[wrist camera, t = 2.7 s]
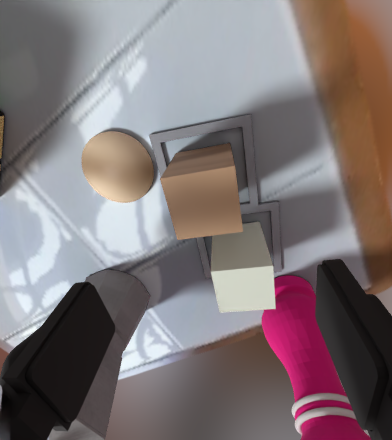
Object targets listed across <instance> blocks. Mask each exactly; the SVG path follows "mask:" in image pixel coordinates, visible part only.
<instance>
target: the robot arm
mask: <svg viewBox="0 0 392 440" xmlns="http://www.w3.org/2000/svg"><path fill="white" fill-rule="evenodd" d="M315 317H316V321H317V324H318V327H319V329H320V332H321V334H322V336H323V339H324V341H325V344H326V346H327V349H328V351H329V353H330V356H331V358H332V361H333V363H334V366H335V368H336V371H337V373H338V375H339V378H340V380H341V383H342V385H343V387H344V390H345V393H346V395H347V397H348V400H349V402H350V405H351V407H352V410H353V412H354V414H355V417H356V419H357V422H358V424H359V426H360V427H361V429H363V430H368V433H369V435H370V437H371V440H392V316H391V314H390V313H389V312H388V310H387V309H386V308H385V307H384V305H383V304H382V303H381V301H380V300H379V299H378V298H377V297H376V296H375V295H373V294H367V295H366V293H365V292H364V290H363V289H362V288H361V286H360V285H359V283H358V282H357V281H356V279H355V278H354V276H353V275H352V274H351V272H350V271H349V269H348V268H347V267H346V265H345V264H344V262H343V261H342V260H341V259H335V260H324V261H323V262H322V265H318V268H317V287H316V308H315ZM114 333H115V324H114V322H113V320H112V318H111V316H110V314H109V312H108V311H107V309H106V307H105V305H104V303H103V301H102V299H101V297H100V295H99V293H98V292H97V290H96V288H95V286H94V285H92V284H91V283H90V282H81V283H75V284H74V285H73V286H72V287H71V288H70V290H69V291H68V292H67V294H66V295H65V296H64V298H63V299H62V300H61V301H60V303H59V304H58V305H57V307H56V308H55V309H54V311H53V312H52V313H51V314H50V316H49V317H48V318H47V320H46V321H45V322H44V324H43V325H42V326H41V327H40V329H39V330H38V331H37V333H36V334H35V335H34V337H33V338H32V339H31V340H30V342H29V343H28V344H27V346H26V347H25V348H24V350H23V351H22V352H21V353H20V355H19V356H18V357H17V359H16V360H15V361H14V363H13V364H12V365H11V367H10V368H9V369H8V370H7V372H6V373H5V374H4V376H3V377H2V379H3V380H4V381H5V384H4V385H3V387H2V386H1V385H0V440H49V435H50V433H51V431H52V429H54V430H55V431H68V430H69V428H70V426H71V423H72V421H74V420H75V419H76V418H77V416H78V414H79V412H80V410H81V407H82V405H83V403H84V401H85V398H86V396H87V394H88V392H89V389H90V387H91V385H92V383H93V380H94V378H95V376H96V374H97V371H98V369H99V367H100V365H101V362H102V360H103V358H104V356H105V353H106V351H107V349H108V347H109V344H110V342H111V340H112V338H113V335H114Z"/></svg>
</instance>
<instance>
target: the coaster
mask: <svg viewBox="0 0 392 440" xmlns="http://www.w3.org/2000/svg"><path fill="white" fill-rule="evenodd" d="M82 168H83V172H84V175H85V177H86V179H87V181H88V182H89V184H90V185H91V186H92V188H93V189H94V190H95V191H96V192H98V193H99V194H100V195H102V196H103V197H105V198H107V199H109V200H112V201H115V202H121V203H127V202H133V201H136V200H138V199H140V198H141V197H143V196H144V195H145V194H146V193H147V191H148V190H149V189H150V187H151V185H152V182H153V178H154V167H153V163H152V160H151V157H150V155H149V153H148V152H147V150H146V149H145V148H144V146H143V145H142V144H141V143H140V142H139V141H137V140H136V139H135V138H133V137H131V136H130V135H127V134H125V133H121V132H116V131H109V132H104V133H100V134H98V135H96V136H94V137H93V138H91V139H90V140H89V141H88V143H87V144H86V146H85V148H84V150H83V153H82Z"/></svg>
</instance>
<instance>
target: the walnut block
mask: <svg viewBox="0 0 392 440" xmlns="http://www.w3.org/2000/svg"><path fill="white" fill-rule="evenodd" d="M160 180H161V184H162V187H163V191H164V194H165V198H166V201H167V205H168V208H169V212H170V215H171V219H172V222H173V226H174V229H175V233H176V236H177V240H180V239H189V238H197V237H205V236H213V235H221V234H229V233H237V232H243V227H242V219H241V211H240V203H239V195H238V186H237V178H236V170H235V164H234V159H233V154H232V150H231V145H230V143H227V144H222V145H216V146H211V147H206V148H200V149H195V150H190V151H184V152H179V153H176V154H175V156H174V157H173V159H172V160H171V162H170V164H169V165H168V167H167V168H166V170H165V172H164V173H163V175H162V176H161V178H160Z"/></svg>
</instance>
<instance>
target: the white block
mask: <svg viewBox="0 0 392 440" xmlns="http://www.w3.org/2000/svg"><path fill="white" fill-rule="evenodd" d="M242 227H243V232H237V233H229V234H221V235H213V236H212V253H211V275H212V280H213V284H214V289H215V293H216V298H217V302H218V307H219V311H220V313H222V312H237V311H251V310H266V309H276V306H275V289H274V271H273V263H272V260H271V257H270V254H269V250H268V247H267V244H266V241H265V237H264V234H263V231H262V228H261V225H260V222H253V223H245V224H242Z"/></svg>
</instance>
